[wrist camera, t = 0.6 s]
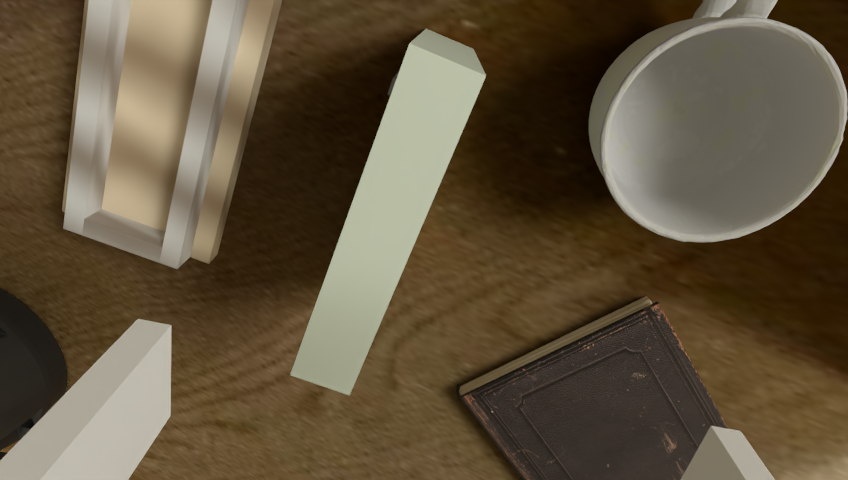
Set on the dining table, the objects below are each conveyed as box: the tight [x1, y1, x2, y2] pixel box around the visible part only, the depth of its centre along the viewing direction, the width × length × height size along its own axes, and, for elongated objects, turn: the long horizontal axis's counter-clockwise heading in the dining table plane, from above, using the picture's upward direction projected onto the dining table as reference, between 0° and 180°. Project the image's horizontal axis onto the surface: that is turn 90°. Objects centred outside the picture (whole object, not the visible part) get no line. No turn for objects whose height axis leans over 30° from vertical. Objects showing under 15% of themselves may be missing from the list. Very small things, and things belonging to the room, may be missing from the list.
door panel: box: [290, 29, 486, 395], centre depth 28 cm, size 16×3×13 cm, turn 158°
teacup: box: [589, 0, 847, 242], centre depth 28 cm, size 14×11×8 cm
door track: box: [62, 0, 282, 269], centre depth 31 cm, size 22×10×3 cm, turn 159°
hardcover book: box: [457, 296, 729, 480], centre depth 42 cm, size 16×23×2 cm
